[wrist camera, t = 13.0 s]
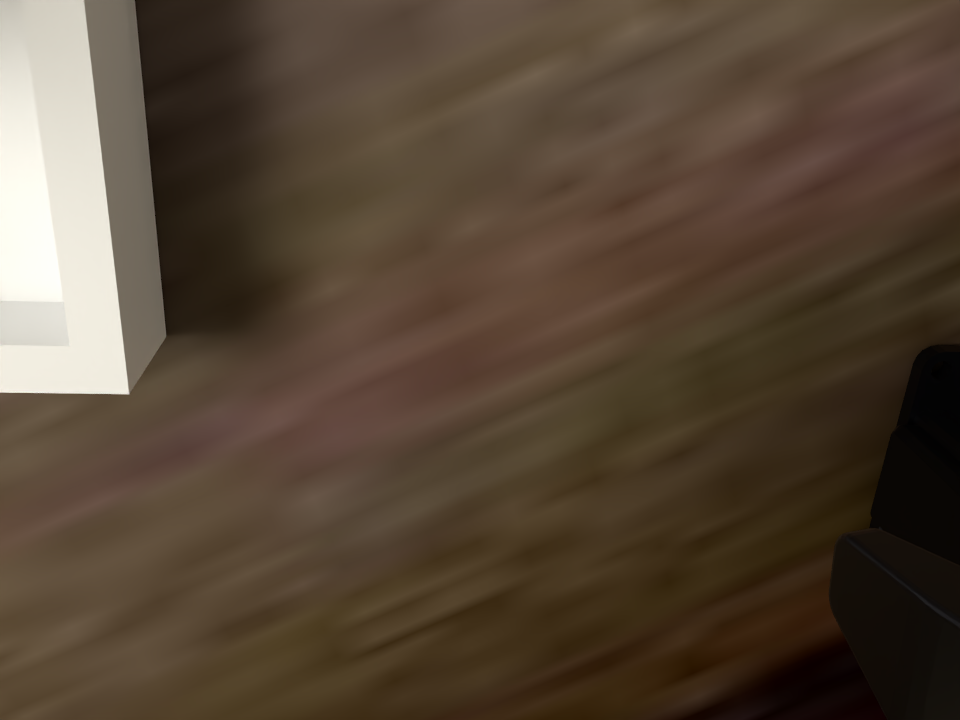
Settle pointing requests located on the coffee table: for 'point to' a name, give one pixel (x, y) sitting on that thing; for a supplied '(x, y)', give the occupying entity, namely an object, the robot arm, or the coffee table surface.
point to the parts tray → (75, 201)
